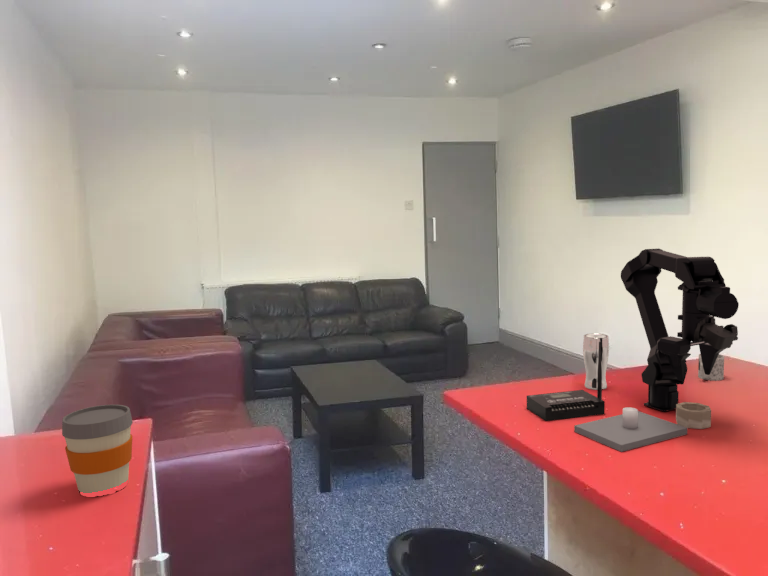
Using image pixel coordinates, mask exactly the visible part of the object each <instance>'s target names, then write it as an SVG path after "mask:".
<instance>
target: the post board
mask: <svg viewBox="0 0 768 576" xmlns="http://www.w3.org/2000/svg"><path fill="white" fill-rule="evenodd" d="M573 428H574V429H573V430H574V431H573V432H574V433H577V434H579V435H580V436H583V437H586V438H588V439H591V440H593V441H595V442H597V443H599V444H602V445H604V446H607V447H609V448H611V449H613V450H616V451H619V452H621V453H622V452H626V451H631V450H634V449H638V448H642V447H645V446H648V445H653V444H655V443H661V442H663V441H666V440H670V439H674V438H678V437H681V436H686V435H688V428H687V427H684V426H681V425H678V424H677V423H676V422H675V423H674V422H671V421H669V420H666V419H663V418H659V417H657V416H654V415H651V414H648V413H645V412H642V411H639V409H638V408H635V407H623V408H622V413H621V414H618V415H614V416H609V417H604V418H600V419H596V420H592V421H587V422H584V423H579V424H575V425H574V427H573Z"/></svg>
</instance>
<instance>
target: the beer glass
mask: <svg viewBox="0 0 768 576" xmlns="http://www.w3.org/2000/svg"><path fill="white" fill-rule="evenodd" d="M599 342H601V365H602V389H603V390H606V389H607V388H608V384H607V380H606V379H607V376H606V374H607V373H606V372H607V366H608V362H609V356H610V354H609V353H610V346H609V344H610V343H609V335H607V334H604V333H586V334H584V335H583V343H582V355H583V362H584V367H585V381H584V387H585V388H586V389H589V390H593V391H597V373H598V359H599Z"/></svg>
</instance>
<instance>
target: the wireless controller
mask: <svg viewBox="0 0 768 576" xmlns="http://www.w3.org/2000/svg"><path fill="white" fill-rule="evenodd" d="M596 391H597V392H596V393H597V394H596V395H597V396H595V395H593V394H592V393H589V392H588V391H586V390H583V389H578V390H568V391H559V392H558V391H557V392H550V393H540V394H530V395H526V409H527V410H528V411H529V412H531V413H533V414H534V415H536V416H537V417H539V418H540V419H541V420H543V421H544V422H550V421H551V422H553V421H560V420H569V419H578V418H585V417H594V416H601V415H603V414H604V415H606V414H605V408H606V406H605V403H606V402H605V400H603V399H602V398H603V397H602V396H603V394H602V393H603V390H602V365H601V342H599V359H598V373H597V390H596ZM604 415H603V416H604Z"/></svg>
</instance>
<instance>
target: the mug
mask: <svg viewBox="0 0 768 576" xmlns="http://www.w3.org/2000/svg"><path fill="white" fill-rule="evenodd" d="M697 366H698V368H697V369H698V371H697V372H698V374H697V375H698V377H697V378H698V379H701V380H704V381H705V380H707V381H710V382H711V381H712V382H713V381H715V382H716V381H717V382H718V381H723V380H724V376H725V356H724V355H722V354H720V353H719V355H718V357H717V359H716V361H715V364H714V366H713V369H712V371H711V373H710V375H706V374H705V372H704V369H703V364H702V359H701V353H699V354H698V365H697Z"/></svg>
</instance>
